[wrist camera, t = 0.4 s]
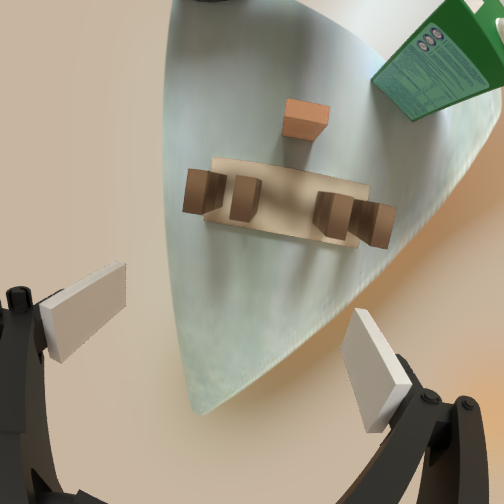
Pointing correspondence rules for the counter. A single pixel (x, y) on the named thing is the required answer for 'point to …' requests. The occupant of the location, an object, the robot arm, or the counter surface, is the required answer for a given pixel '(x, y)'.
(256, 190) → the domino
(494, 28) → the milk carton
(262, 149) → the counter surface
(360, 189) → the birch board
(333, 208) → the domino
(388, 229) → the domino
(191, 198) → the domino
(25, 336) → the robot arm
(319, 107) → the rust tile
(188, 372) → the counter surface
